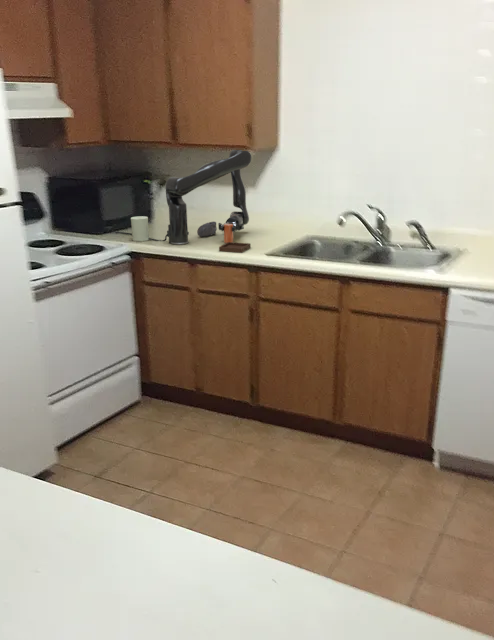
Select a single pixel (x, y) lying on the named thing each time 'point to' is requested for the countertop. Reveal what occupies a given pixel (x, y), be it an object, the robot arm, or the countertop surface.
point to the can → (140, 228)
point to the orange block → (228, 233)
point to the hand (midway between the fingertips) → (227, 229)
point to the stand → (235, 247)
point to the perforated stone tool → (207, 229)
